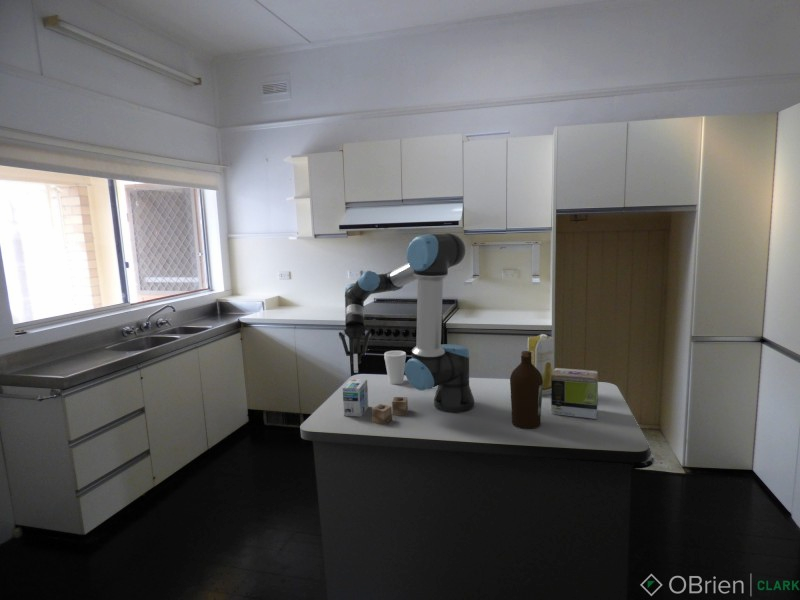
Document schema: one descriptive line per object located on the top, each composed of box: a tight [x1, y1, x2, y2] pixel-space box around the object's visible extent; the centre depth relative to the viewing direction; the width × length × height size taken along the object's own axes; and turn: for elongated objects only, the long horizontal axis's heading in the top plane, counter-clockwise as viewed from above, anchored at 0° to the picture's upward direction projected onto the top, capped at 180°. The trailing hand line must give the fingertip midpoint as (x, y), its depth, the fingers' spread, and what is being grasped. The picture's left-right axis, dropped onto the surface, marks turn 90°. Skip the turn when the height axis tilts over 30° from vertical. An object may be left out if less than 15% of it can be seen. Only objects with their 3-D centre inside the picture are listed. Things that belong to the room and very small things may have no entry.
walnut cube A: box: [391, 396, 409, 416], centre depth 177 cm, size 5×5×5 cm
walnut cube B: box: [371, 403, 393, 426], centre depth 170 cm, size 5×5×5 cm
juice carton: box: [527, 333, 555, 397], centre depth 191 cm, size 9×8×24 cm
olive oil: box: [509, 350, 543, 430], centre depth 161 cm, size 11×11×25 cm
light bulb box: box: [342, 378, 369, 418], centre depth 179 cm, size 11×7×11 cm, turn 168°
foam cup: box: [383, 350, 407, 385], centre depth 211 cm, size 10×9×13 cm
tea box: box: [550, 367, 599, 420], centre depth 171 cm, size 15×10×15 cm, turn 65°
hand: (355, 370), depth 178 cm, fingers closed
